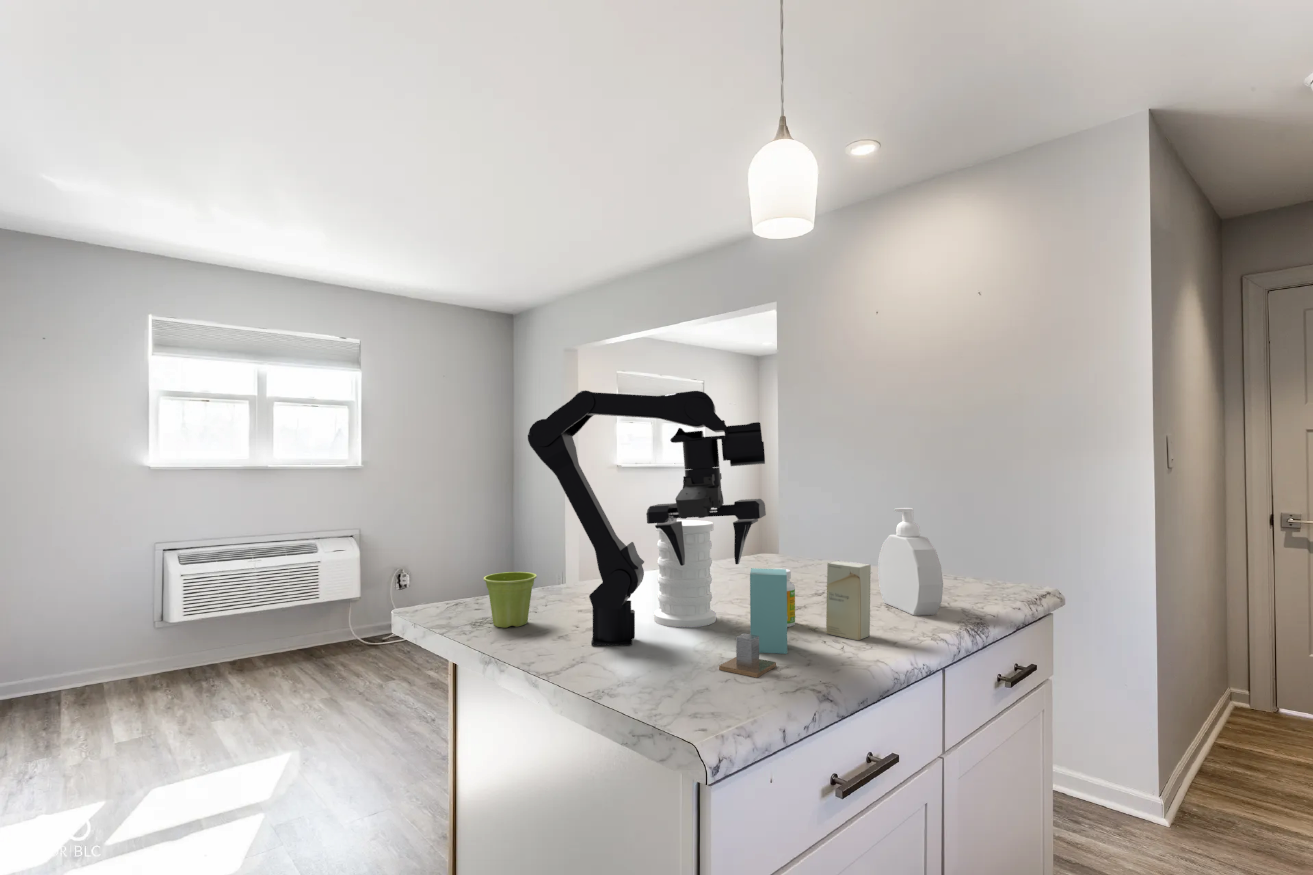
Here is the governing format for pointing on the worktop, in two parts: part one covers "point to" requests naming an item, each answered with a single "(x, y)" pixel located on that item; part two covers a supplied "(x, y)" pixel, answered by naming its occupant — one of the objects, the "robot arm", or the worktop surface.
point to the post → (747, 658)
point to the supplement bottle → (790, 600)
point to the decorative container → (685, 578)
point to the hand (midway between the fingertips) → (709, 564)
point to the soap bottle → (910, 569)
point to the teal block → (769, 609)
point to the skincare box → (848, 599)
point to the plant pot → (510, 597)
